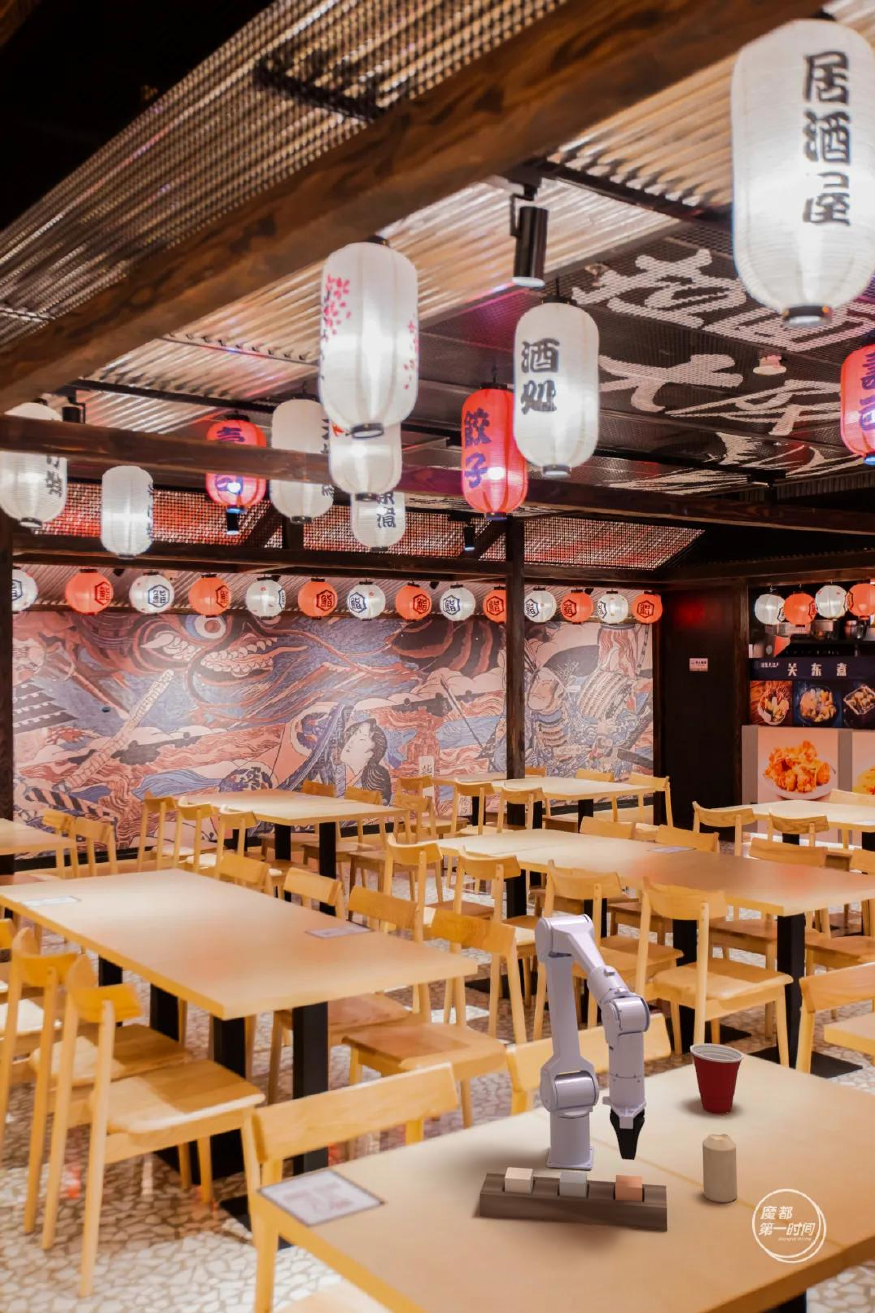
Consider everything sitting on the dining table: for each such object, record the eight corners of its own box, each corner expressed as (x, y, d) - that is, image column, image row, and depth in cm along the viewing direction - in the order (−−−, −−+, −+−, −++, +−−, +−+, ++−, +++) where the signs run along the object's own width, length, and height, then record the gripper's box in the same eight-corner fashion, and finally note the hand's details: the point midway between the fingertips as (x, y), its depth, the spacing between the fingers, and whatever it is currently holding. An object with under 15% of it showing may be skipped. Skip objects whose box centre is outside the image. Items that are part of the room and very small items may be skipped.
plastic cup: (751, 1119, 217) (750, 1058, 217) (697, 1119, 217) (696, 1058, 218) (737, 1099, 228) (736, 1041, 228) (685, 1099, 228) (684, 1041, 228)
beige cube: (508, 1188, 183) (507, 1167, 183) (533, 1190, 182) (532, 1169, 182) (505, 1199, 179) (504, 1178, 179) (530, 1201, 178) (530, 1180, 178)
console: (487, 1194, 185) (486, 1173, 185) (666, 1207, 179) (666, 1186, 180) (479, 1215, 177) (479, 1193, 178) (667, 1230, 172) (666, 1208, 172)
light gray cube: (561, 1192, 181) (561, 1171, 181) (587, 1194, 180) (586, 1173, 180) (559, 1204, 177) (559, 1182, 177) (585, 1206, 176) (585, 1184, 176)
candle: (731, 1187, 186) (730, 1128, 187) (741, 1202, 181) (740, 1141, 181) (699, 1188, 186) (698, 1129, 187) (708, 1203, 181) (707, 1142, 181)
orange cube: (616, 1196, 179) (616, 1175, 179) (642, 1198, 178) (641, 1176, 179) (615, 1208, 175) (615, 1186, 175) (642, 1210, 174) (641, 1188, 174)
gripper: (603, 1057, 186) (605, 1137, 185) (599, 1086, 171) (601, 1174, 171) (645, 1059, 184) (647, 1140, 184) (645, 1089, 170) (647, 1177, 169)
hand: (628, 1157), depth 177 cm, fingers closed
